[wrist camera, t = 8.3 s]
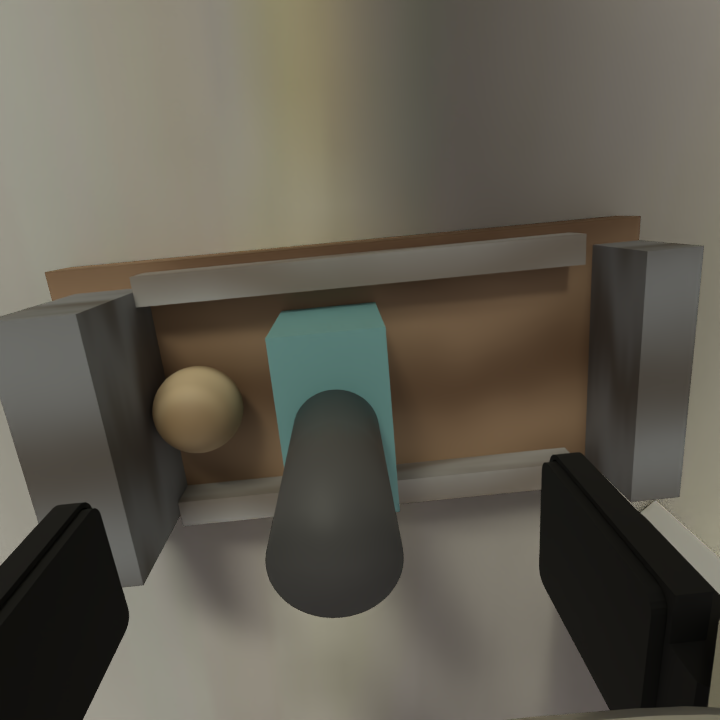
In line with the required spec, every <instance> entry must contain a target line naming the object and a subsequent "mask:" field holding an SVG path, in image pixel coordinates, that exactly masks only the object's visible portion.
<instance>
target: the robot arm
mask: <svg viewBox="0 0 720 720" xmlns="http://www.w3.org/2000/svg"><path fill="white" fill-rule="evenodd" d="M539 570H540V576H541V580H542V583H543V585H544V587H545V589H546V591H547V593H548V595H549V597H550V598H551V600H552V602H553V604H554V606H555V608H556V610H557V612H558V613H559V615H560V617H561V619H562V621H563V623H564V625H565V627H566V628H567V630H568V632H569V634H570V636H571V638H572V640H573V642H574V643H575V645H576V647H577V649H578V651H579V653H580V655H581V657H582V658H583V660H584V662H585V664H586V666H587V668H588V670H589V672H590V674H591V675H592V677H593V679H594V681H595V683H596V685H597V687H598V689H599V690H600V692H601V694H602V696H603V698H604V700H605V702H606V704H607V705H608V707H609V709H610V710H609V711H598V712H586V713H574V714H562V715H550V716H538V717H528V718H518V719H508V720H720V594H719V593H718V592H717V591H716V590H715V589H714V588H713V587H712V586H711V585H710V584H709V583H708V582H707V581H706V580H705V579H704V578H703V576H702V575H701V574H700V573H699V572H698V571H697V570H696V569H695V568H694V567H693V566H692V565H691V564H690V563H689V562H688V561H687V560H686V559H685V558H684V557H683V556H682V555H681V554H680V553H679V552H678V551H677V549H676V548H675V547H674V546H673V545H672V544H671V543H670V542H669V541H668V540H667V539H666V538H665V537H664V536H663V535H662V534H661V533H660V532H659V531H658V530H657V529H656V528H655V527H654V526H653V525H652V524H651V522H650V521H649V520H648V519H647V518H646V517H645V516H643V515H642V514H641V513H640V512H638V511H637V510H636V509H635V508H634V507H633V506H632V505H631V504H630V503H629V502H628V501H627V500H626V499H625V498H624V497H623V496H622V495H621V493H620V492H619V491H618V490H617V489H616V488H615V487H614V486H613V485H612V484H611V483H610V482H609V481H608V480H607V479H606V478H605V477H604V476H603V475H602V474H601V473H600V472H599V470H598V469H597V468H596V467H595V466H594V465H593V464H592V463H591V462H590V461H589V460H588V459H587V458H586V457H585V456H584V455H583V454H582V453H581V452H574V453H564V454H555V455H552V456H551V458H550V461H549V462H544V463H543V465H542V478H541V516H540V555H539ZM128 621H129V611H128V607H127V603H126V600H125V596H124V593H123V589H122V586H121V582H120V579H119V575H118V572H117V569H116V565H115V562H114V558H113V555H112V551H111V548H110V544H109V541H108V537H107V534H106V531H105V527H104V524H103V520H102V517H101V514H100V511H99V510H98V509H96V508H92V507H91V505H90V504H89V503H87V502H82V503H72V504H62V505H56V506H55V507H54V508H52V510H51V511H50V512H49V513H48V514H47V515H46V516H45V517H44V518H43V519H42V521H41V522H40V523H39V524H38V525H37V526H36V527H35V528H34V529H33V531H32V532H31V533H30V534H29V535H28V536H27V537H26V538H25V539H24V540H23V542H22V543H21V544H20V545H19V546H18V547H17V548H16V549H15V550H14V551H13V553H12V554H11V555H10V556H9V557H8V558H7V559H6V560H5V561H4V562H3V564H2V565H1V566H0V720H83V718H84V716H85V714H86V712H87V710H88V708H89V706H90V704H91V702H92V700H93V698H94V695H95V693H96V691H97V689H98V687H99V685H100V683H101V681H102V679H103V677H104V675H105V673H106V671H107V669H108V667H109V664H110V662H111V660H112V658H113V656H114V654H115V652H116V650H117V648H118V646H119V644H120V642H121V640H122V638H123V636H124V633H125V631H126V629H127V626H128Z"/></svg>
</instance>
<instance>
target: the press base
mask: <svg viewBox="0 0 720 720" xmlns="http://www.w3.org/2000/svg"><path fill="white" fill-rule="evenodd" d="M640 218H641V216H610V217H599V218H589V219H578V220H567V221H557V222H546V223H536V224H525V225H514V226H504V227H493V228H483V229H472V230H461V231H451V232H440V233H430V234H419V235H409V236H398V237H387V238H377V239H366V240H356V241H345V242H334V243H324V244H313V245H303V246H292V247H282V248H271V249H260V250H250V251H239V252H229V253H218V254H207V255H197V256H186V257H176V258H165V259H154V260H144V261H133V262H123V263H112V264H102V265H91V266H80V267H70V268H65V269H59V270H54V271H49V272H45V275H46V279H47V283H48V287H49V290H50V294H51V298H52V301H50V302H47V303H44V304H40V305H37V306H34V307H31V308H27V309H24V310H21V311H17V312H14V313H11V314H7V315H4V316H1V317H0V399H1V402H2V406H3V409H4V412H5V416H6V419H7V422H8V425H9V429H10V432H11V435H12V438H13V442H14V445H15V448H16V451H17V455H18V458H19V461H20V464H21V468H22V471H23V474H24V477H25V481H26V484H27V487H28V490H29V494H30V497H31V500H32V503H33V507H34V510H35V513H36V516H37V520H38V523H40V522H41V521H42V519H43V518H44V517H45V516H46V515H47V514H48V513H49V512H50V511H51V510H52V508H54V507H55V506H56V505H62V504H72V503H82V502H87V503H89V504H90V505H91V507H92V508H96V509H98V510H99V511H100V514H101V517H102V520H103V524H104V527H105V531H106V534H107V537H108V541H109V544H110V548H111V551H112V555H113V558H114V562H115V565H116V569H117V572H118V575H119V579H120V582H121V586H122V587H131V586H140V585H144V583H145V581H146V579H147V577H148V575H149V573H150V572H151V570H152V568H153V566H154V564H155V562H156V560H157V558H158V556H159V554H160V553H161V551H162V549H163V547H164V545H165V543H166V541H167V539H168V537H169V535H170V534H171V532H172V530H173V528H174V526H175V524H176V522H177V520H178V518H179V516H181V519H182V524H183V526H189V525H199V524H209V523H219V522H229V521H238V520H248V519H258V518H268V517H274V513H275V508H276V504H277V499H278V494H279V490H280V485H281V480H282V476H283V471H284V464H283V458H282V451H281V444H280V437H279V430H278V423H277V417H276V410H275V403H274V396H273V389H272V382H271V376H270V369H269V362H268V355H267V348H266V341H265V338H266V336H267V335H268V333H269V331H270V330H271V328H272V326H273V324H274V323H275V321H276V319H277V318H278V316H279V314H280V313H281V311H286V310H297V309H307V308H318V307H328V306H338V305H349V304H359V303H370V302H375V303H376V305H377V308H378V310H379V313H380V315H381V317H382V320H383V322H384V325H385V327H386V340H387V353H388V365H389V378H390V391H391V404H392V417H393V430H394V443H395V456H396V469H397V481H398V494H399V504H405V503H415V502H425V501H434V500H444V499H454V498H464V497H474V496H483V495H493V494H503V493H513V492H523V491H532V490H541V478H542V465H543V463H544V462H549V461H550V458H551V456H552V455H555V454H564V453H574V452H581V453H582V454H583V455H584V456H585V457H586V458H587V459H588V460H589V461H590V462H591V463H592V464H593V465H594V466H595V467H596V468H597V469H598V470H599V472H600V473H602V474H603V475H604V476H605V477H606V478H607V479H608V480H609V481H610V482H611V483H612V484H613V485H614V486H615V487H616V488H617V489H618V490H619V491H620V492H621V493H622V494H623V495H624V496H625V497H626V498H627V499H628V500H629V501H630V502H635V501H645V500H654V499H664V498H674V497H680V486H681V476H682V466H683V456H684V445H685V435H686V425H687V415H688V404H689V394H690V384H691V374H692V363H693V353H694V343H695V332H696V322H697V312H698V302H699V291H700V281H701V271H702V261H703V250H704V246H699V245H687V244H675V243H664V242H652V241H641V240H639V234H640Z"/></svg>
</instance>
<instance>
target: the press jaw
mask: <svg viewBox="0 0 720 720" xmlns="http://www.w3.org/2000/svg"><path fill="white" fill-rule="evenodd" d="M265 341H266V348H267V355H268V362H269V369H270V376H271V382H272V389H273V396H274V403H275V410H276V417H277V423H278V430H279V437H280V444H281V451H282V458H283V464H284V471H283V476H282V480H281V485H280V490H279V494H278V499H277V504H276V508H275V513H274V518H273V522H272V527H271V532H270V537H269V541H268V546H267V551H266V560H265V561H266V570H267V574H268V577H269V579H270V582H271V584H272V586H273V587H274V589H275V590H276V592H277V593H278V594H279V595H280V596H281V597H282V598H283V599H284V600H285V601H286V602H287V603H289V604H290V605H291V606H293V607H295V608H296V609H298V610H300V611H302V612H305V613H307V614H311V615H314V616H319V617H327V618H340V617H348V616H352V615H356V614H359V613H362V612H364V611H367V610H369V609H371V608H373V607H374V606H376V605H377V604H379V603H380V602H381V601H383V600H384V599H385V598H386V597H387V596H388V595H389V594H390V592H391V591H392V590H393V589H394V587H395V586H396V584H397V582H398V580H399V578H400V575H401V572H402V568H403V548H402V543H401V537H400V532H399V527H398V522H397V516H396V512H399V511H400V507H399V494H398V481H397V469H396V456H395V443H394V430H393V417H392V404H391V391H390V378H389V365H388V353H387V340H386V327H385V325H384V322H383V320H382V317H381V315H380V313H379V310H378V308H377V305H376V303H375V302H370V303H359V304H349V305H338V306H328V307H318V308H307V309H297V310H286V311H281V313H280V314H279V316H278V318H277V319H276V321H275V323H274V324H273V326H272V328H271V330H270V331H269V333H268V335H267V336H266V338H265Z"/></svg>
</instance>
